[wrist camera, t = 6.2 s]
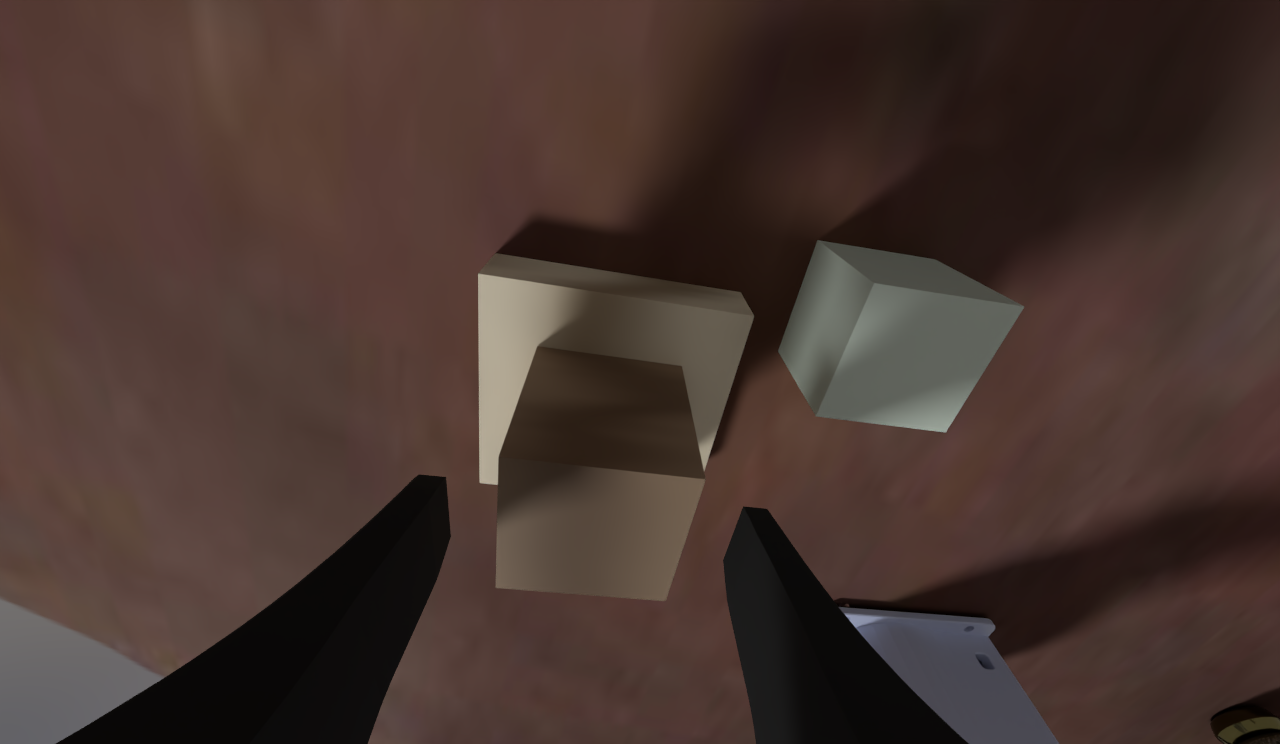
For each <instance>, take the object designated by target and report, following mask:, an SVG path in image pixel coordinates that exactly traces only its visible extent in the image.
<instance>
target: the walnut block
mask: <svg viewBox="0 0 1280 744" xmlns="http://www.w3.org/2000/svg"><path fill="white" fill-rule="evenodd" d="M705 480H706V479H705V474H704V469H703V464H702V460H701V455H700V450H699V445H698V440H697V436H696V431H695V426H694V421H693V417H692V412H691V407H690V402H689V397H688V393H687V388H686V383H685V378H684V374H683V369H682V366H678V365H671V364H664V363H657V362H649V361H642V360H635V359H627V358H620V357H613V356H606V355H598V354H591V353H584V352H576V351H569V350H562V349H554V348H547V347H540V346H537V348H536V351H535V354H534V357H533V360H532V363H531V365H530V368H529V371H528V374H527V377H526V380H525V383H524V385H523V388H522V391H521V394H520V397H519V400H518V403H517V405H516V408H515V411H514V414H513V417H512V420H511V423H510V425H509V428H508V431H507V434H506V437H505V440H504V443H503V445H502V448H501V451H500V454H499V457H498V505H497V552H496V588H505V589H517V590H530V591H543V592H556V593H568V594H581V595H594V596H606V597H619V598H632V599H645V600H657V601H666V598H667V595H668V592H669V589H670V586H671V583H672V580H673V577H674V574H675V571H676V568H677V565H678V562H679V559H680V556H681V553H682V550H683V547H684V544H685V541H686V538H687V535H688V531H689V528H690V525H691V522H692V519H693V516H694V513H695V510H696V507H697V504H698V501H699V498H700V495H701V492H702V489H703V486H704V483H705Z"/></svg>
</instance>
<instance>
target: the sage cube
mask: <svg viewBox="0 0 1280 744" xmlns="http://www.w3.org/2000/svg"><path fill="white" fill-rule="evenodd" d="M1023 308H1024V306H1022V305H1020V304H1019V303H1017V302H1015V301H1013V300H1011V299H1009V298H1007V297H1005V296H1003V295H1002V294H1000V293H998V292H996V291H994V290H992V289H990V288H988V287H986V286H985V285H983V284H981V283H979V282H977V281H975V280H973V279H971V278H969V277H968V276H966V275H964V274H962V273H960V272H958V271H956V270H954V269H953V268H951V267H949V266H947V265H945V264H943V263H941V262H939V261H937V260H936V259H930V258H924V257H918V256H912V255H906V254H899V253H893V252H887V251H881V250H875V249H869V248H863V247H857V246H851V245H844V244H838V243H832V242H826V241H820V240H817V243H816V246H815V248H814V251H813V254H812V257H811V260H810V263H809V265H808V268H807V271H806V274H805V277H804V279H803V282H802V285H801V288H800V291H799V293H798V296H797V299H796V302H795V305H794V308H793V310H792V313H791V316H790V319H789V322H788V324H787V327H786V330H785V333H784V336H783V338H782V341H781V344H780V347H779V350H778V352H779V354H780V355H781V357H782V359H783V361H784V362H785V364H786V366H787V367H788V369H789V371H790V373H791V374H792V376H793V378H794V379H795V381H796V383H797V385H798V386H799V388H800V390H801V391H802V393H803V395H804V397H805V398H806V400H807V402H808V404H809V405H810V407H811V409H812V410H813V412H814V414H815V416H818V417H826V418H834V419H842V420H850V421H858V422H866V423H874V424H882V425H890V426H898V427H906V428H914V429H922V430H930V431H938V432H946V431H947V430H948V428H949V426H950V425H951V423H952V422H953V420H954V418H955V417H956V415H957V414H958V412H959V410H960V409H961V407H962V406H963V404H964V402H965V401H966V399H967V398H968V396H969V394H970V393H971V391H972V390H973V388H974V386H975V385H976V383H977V382H978V380H979V378H980V377H981V375H982V374H983V372H984V370H985V369H986V367H987V366H988V364H989V362H990V361H991V359H992V358H993V356H994V354H995V353H996V351H997V350H998V348H999V346H1000V345H1001V343H1002V342H1003V340H1004V338H1005V337H1006V335H1007V334H1008V332H1009V330H1010V329H1011V327H1012V326H1013V324H1014V323H1015V321H1016V319H1017V318H1018V316H1019V315H1020V313H1021V311H1022V310H1023Z"/></svg>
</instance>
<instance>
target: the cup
mask: <svg viewBox="0 0 1280 744" xmlns="http://www.w3.org/2000/svg"><path fill="white" fill-rule="evenodd" d="M1211 729H1212V731H1213V733H1214V735H1215V737H1216V738H1217V739H1218V740H1219V741H1220V742H1222V743H1223V744H1280V718H1279V717H1278V716H1276V715H1274V714H1273V713H1271V712H1269V711H1267V710H1266V709H1263V708H1260V707H1252V706H1248V707H1239V708H1234V709H1231V710H1228V711H1225V712H1223V713H1221V714H1219V715H1217V716H1216V717H1215V718H1214V719H1213V720H1212V722H1211Z"/></svg>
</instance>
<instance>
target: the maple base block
mask: <svg viewBox="0 0 1280 744" xmlns="http://www.w3.org/2000/svg"><path fill="white" fill-rule="evenodd" d="M478 311H479V460H480V483H486V484H495V485H498V457H499V454H500V451H501V448H502V445H503V443H504V440H505V437H506V434H507V431H508V428H509V425H510V423H511V420H512V417H513V414H514V411H515V408H516V405H517V403H518V400H519V397H520V394H521V391H522V388H523V385H524V383H525V380H526V377H527V374H528V371H529V368H530V365H531V363H532V360H533V357H534V354H535V351H536V348H537V346H540V347H547V348H554V349H562V350H569V351H576V352H584V353H591V354H598V355H606V356H613V357H620V358H627V359H635V360H642V361H649V362H657V363H664V364H671V365H678V366H682V369H683V374H684V378H685V383H686V388H687V393H688V397H689V402H690V407H691V412H692V417H693V421H694V426H695V431H696V436H697V440H698V445H699V450H700V455H701V460H702V464H703V469H704V470H705V467H706V464H707V461H708V458H709V455H710V452H711V449H712V445H713V442H714V439H715V436H716V433H717V430H718V427H719V424H720V421H721V418H722V415H723V411H724V408H725V405H726V402H727V399H728V396H729V393H730V390H731V387H732V384H733V381H734V377H735V374H736V371H737V368H738V365H739V362H740V359H741V356H742V353H743V350H744V347H745V343H746V340H747V337H748V334H749V331H750V328H751V325H752V322H753V319H754V315H753V313H752V311H751V309H750V308H749V306H748V304H747V302H746V301H745V299H744V297H743V295H742V294H741V292H736V291H730V290H724V289H717V288H711V287H705V286H699V285H692V284H686V283H680V282H673V281H667V280H661V279H655V278H648V277H642V276H636V275H630V274H623V273H617V272H611V271H605V270H598V269H592V268H586V267H579V266H573V265H567V264H561V263H554V262H548V261H542V260H536V259H529V258H523V257H517V256H511V255H504V254H498V253H495V254H494V256H493V257H492V258H491V259H490V260H489V262H488V263H487V264H486V265H485V266H484V267H483V269H482V270H481V271H480V272H479V273H478Z"/></svg>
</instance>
